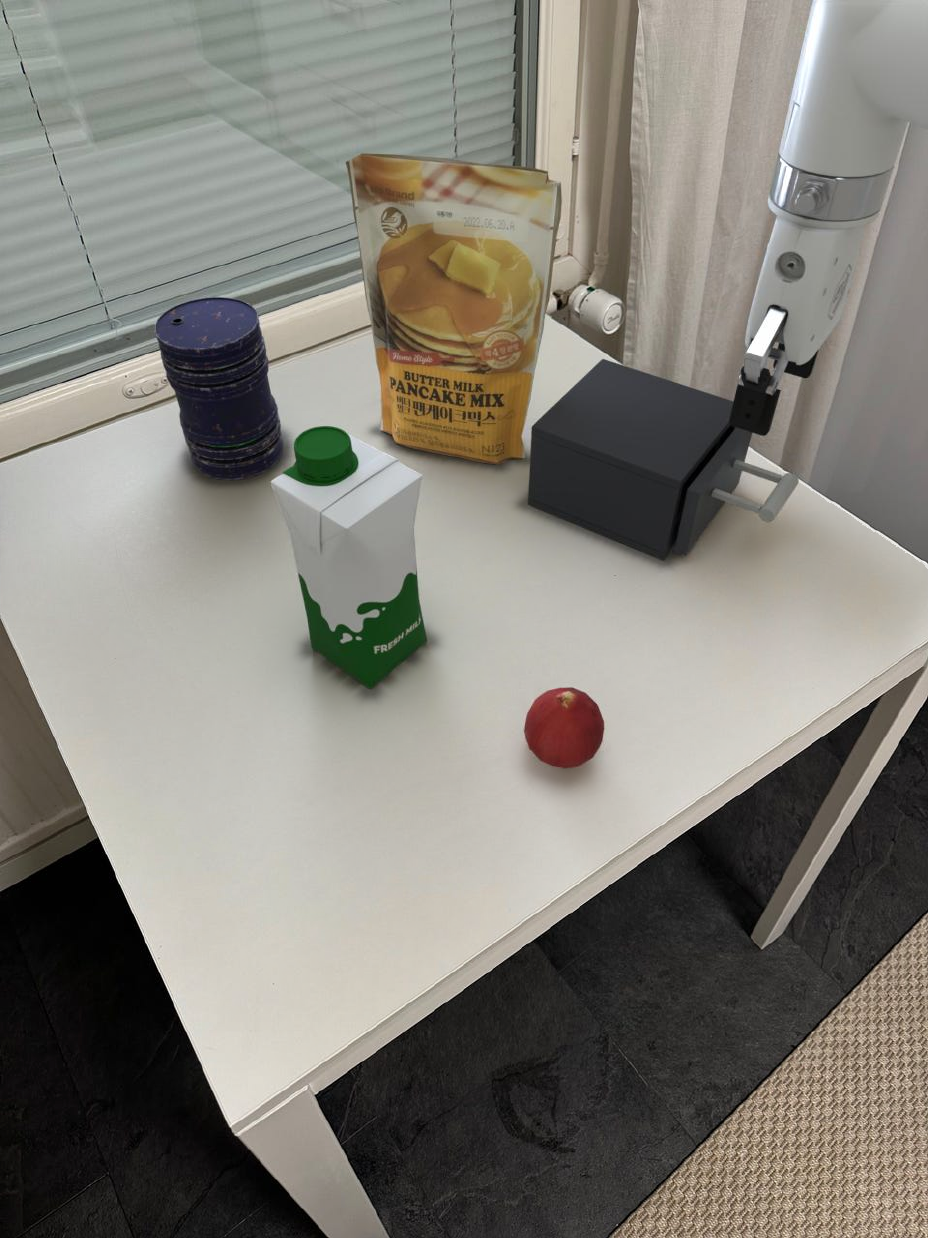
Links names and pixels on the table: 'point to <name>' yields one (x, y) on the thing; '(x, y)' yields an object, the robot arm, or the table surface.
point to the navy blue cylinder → (221, 386)
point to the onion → (564, 727)
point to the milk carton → (354, 550)
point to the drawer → (725, 489)
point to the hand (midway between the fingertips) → (770, 399)
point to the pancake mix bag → (455, 296)
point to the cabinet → (624, 454)
